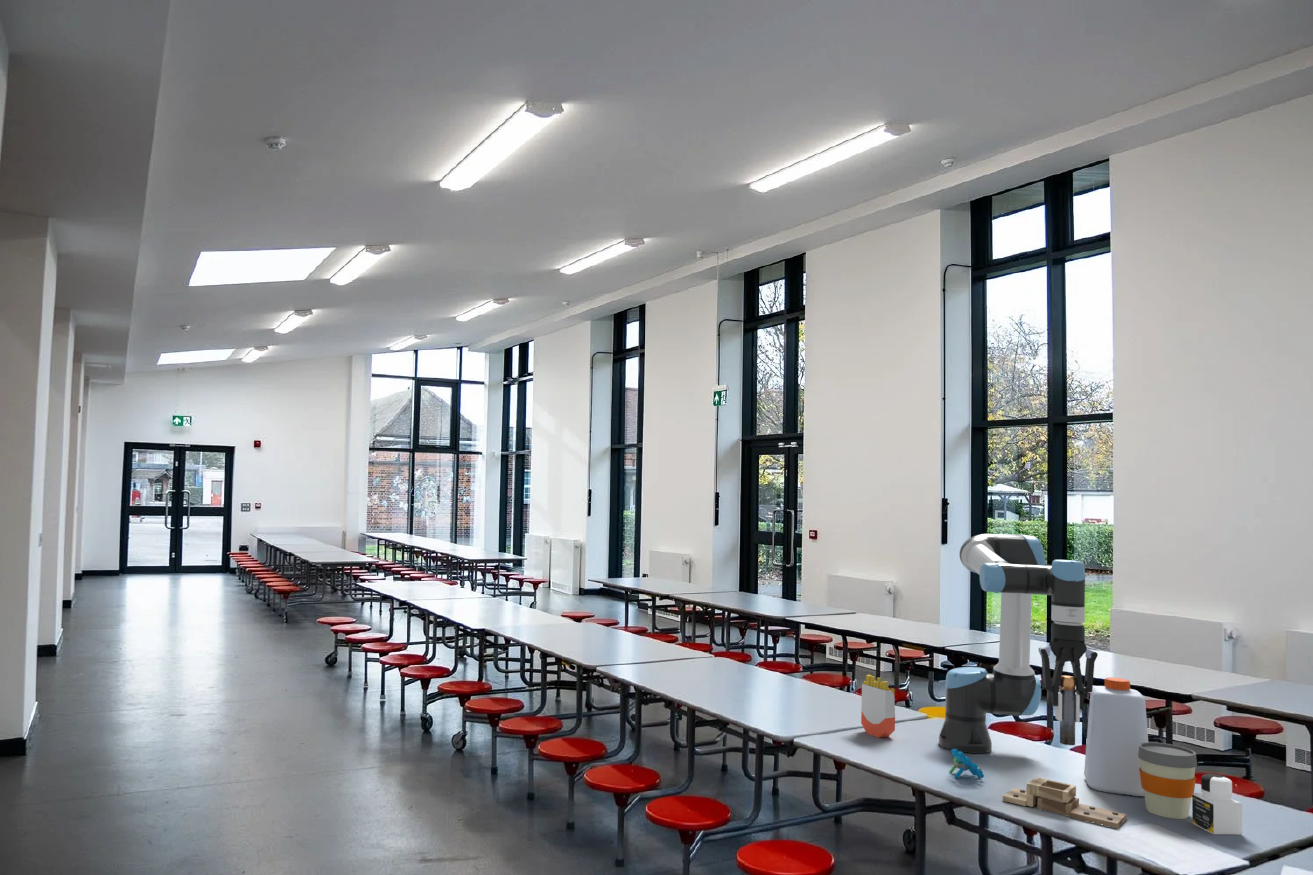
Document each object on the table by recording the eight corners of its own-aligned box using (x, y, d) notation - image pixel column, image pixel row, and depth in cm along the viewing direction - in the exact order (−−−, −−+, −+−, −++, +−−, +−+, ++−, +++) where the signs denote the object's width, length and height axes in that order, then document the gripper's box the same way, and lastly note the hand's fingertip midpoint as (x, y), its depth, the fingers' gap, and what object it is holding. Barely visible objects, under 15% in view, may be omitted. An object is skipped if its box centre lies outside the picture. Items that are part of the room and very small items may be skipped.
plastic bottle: (1088, 791, 232) (1089, 681, 234) (1082, 775, 246) (1083, 671, 248) (1154, 799, 227) (1154, 687, 229) (1144, 783, 241) (1144, 677, 243)
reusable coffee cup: (1196, 825, 209) (1196, 759, 210) (1135, 813, 216) (1135, 749, 217) (1197, 810, 220) (1197, 748, 221) (1139, 800, 226) (1139, 739, 228)
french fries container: (871, 729, 288) (873, 672, 290) (895, 738, 279) (896, 679, 280) (860, 731, 286) (862, 673, 287) (884, 739, 276) (885, 680, 278)
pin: (1061, 740, 221) (1062, 674, 223) (1076, 743, 219) (1076, 676, 221) (1058, 743, 219) (1058, 676, 220) (1073, 745, 217) (1073, 678, 218)
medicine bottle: (1191, 823, 210) (1191, 771, 211) (1220, 823, 211) (1220, 771, 212) (1213, 834, 203) (1212, 780, 204) (1242, 835, 204) (1242, 780, 205)
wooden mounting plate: (1047, 800, 223) (1047, 790, 223) (1126, 819, 211) (1126, 807, 211) (1036, 809, 216) (1036, 798, 216) (1117, 828, 204) (1117, 817, 205)
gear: (992, 777, 235) (965, 748, 236) (977, 794, 234) (950, 765, 234) (972, 770, 246) (946, 743, 247) (958, 787, 245) (932, 759, 245)
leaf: (1014, 792, 228) (1015, 771, 228) (1076, 806, 218) (1076, 784, 219) (1002, 800, 221) (1002, 778, 221) (1066, 815, 211) (1066, 793, 212)
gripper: (1037, 622, 219) (1036, 721, 217) (1108, 627, 216) (1108, 726, 215) (1028, 619, 226) (1028, 714, 224) (1098, 623, 224) (1097, 719, 222)
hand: (1067, 720), depth 220 cm, fingers closed on pin, 3 cm apart
